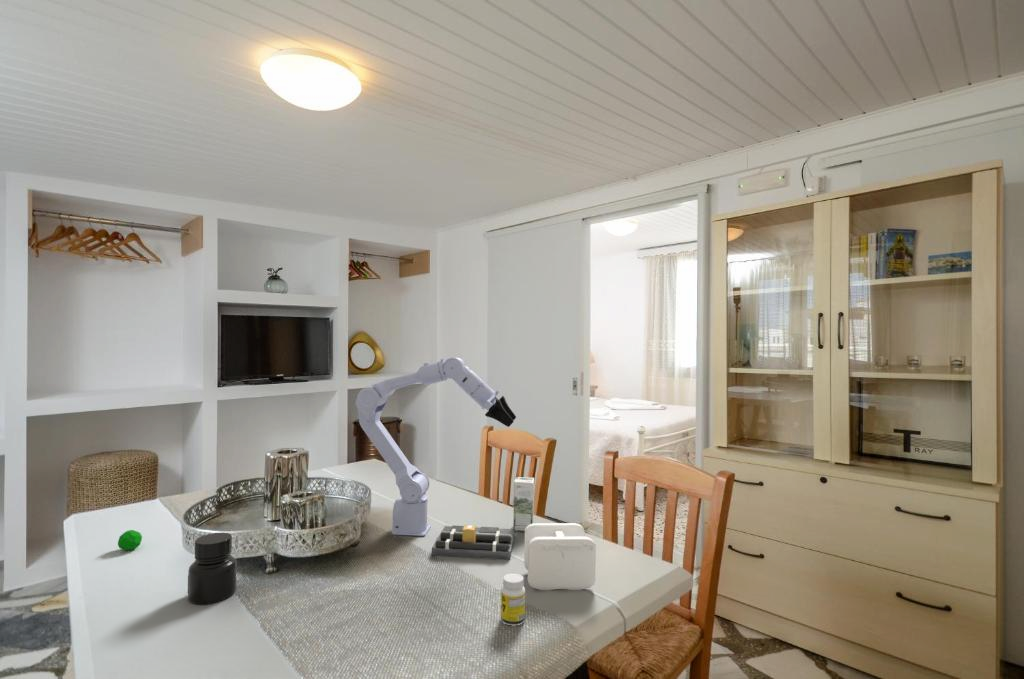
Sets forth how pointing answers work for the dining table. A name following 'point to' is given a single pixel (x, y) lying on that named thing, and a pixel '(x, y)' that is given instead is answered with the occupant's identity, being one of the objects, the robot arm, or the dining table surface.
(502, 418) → the robot arm
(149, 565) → the dining table surface
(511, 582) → the supplement bottle
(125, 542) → the polyhedron
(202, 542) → the ink bottle
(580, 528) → the cable organizer
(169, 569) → the dining table surface
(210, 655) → the dining table surface
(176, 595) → the dining table surface
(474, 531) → the block
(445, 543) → the cable bundles
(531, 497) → the syrup box
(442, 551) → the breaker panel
